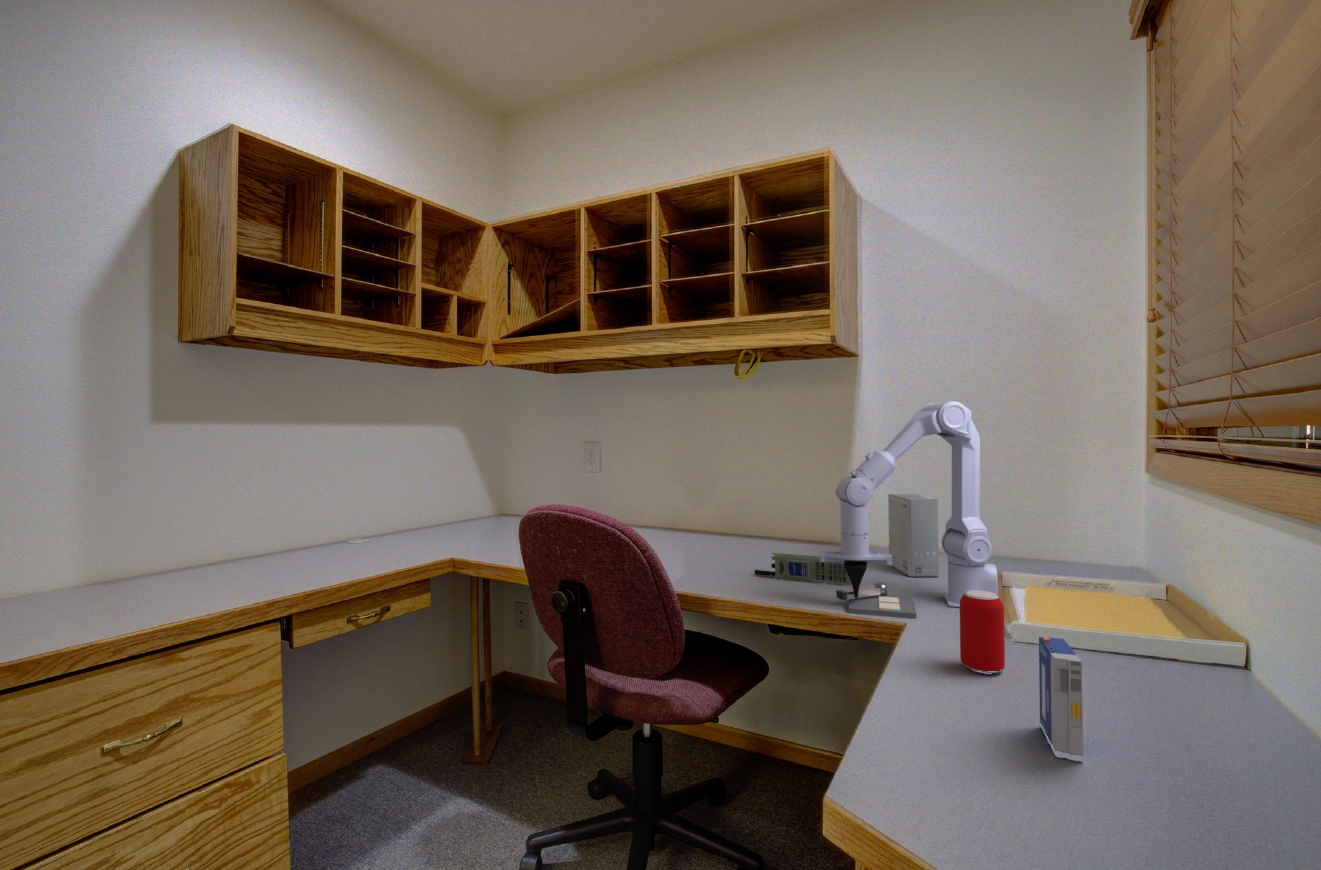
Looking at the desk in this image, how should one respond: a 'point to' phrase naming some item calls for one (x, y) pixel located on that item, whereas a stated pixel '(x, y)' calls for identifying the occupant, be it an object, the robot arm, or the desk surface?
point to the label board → (884, 606)
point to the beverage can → (982, 631)
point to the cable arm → (863, 591)
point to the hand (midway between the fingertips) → (856, 596)
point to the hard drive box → (914, 534)
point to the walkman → (1061, 695)
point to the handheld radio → (807, 569)
